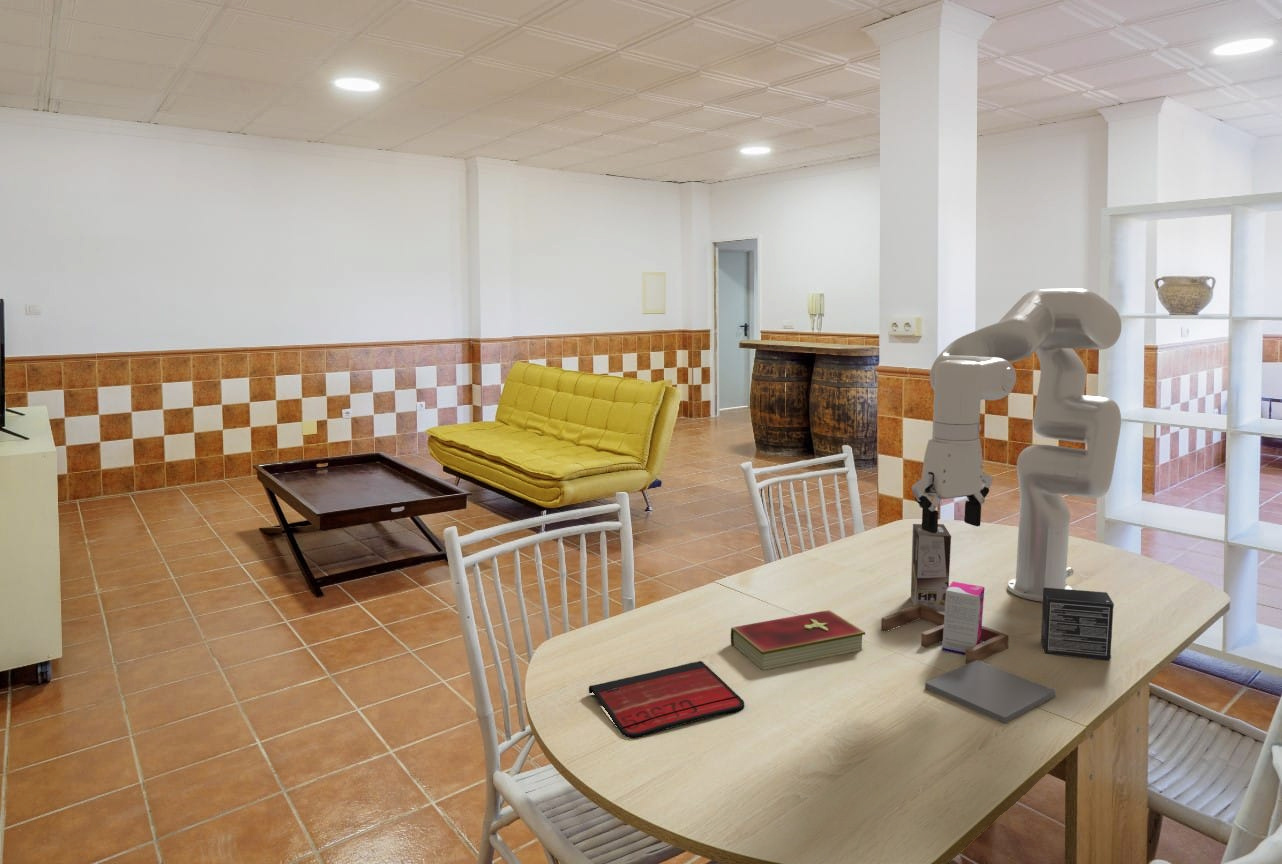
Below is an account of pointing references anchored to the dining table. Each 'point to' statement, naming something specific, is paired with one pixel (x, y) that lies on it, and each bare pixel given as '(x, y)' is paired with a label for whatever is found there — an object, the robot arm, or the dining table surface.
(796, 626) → the hardcover book
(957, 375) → the robot arm
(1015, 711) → the slate board
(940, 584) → the coffee box
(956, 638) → the supplement box
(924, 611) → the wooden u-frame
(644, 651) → the dining table surface
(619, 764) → the dining table surface
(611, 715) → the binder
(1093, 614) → the small box
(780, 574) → the dining table surface
